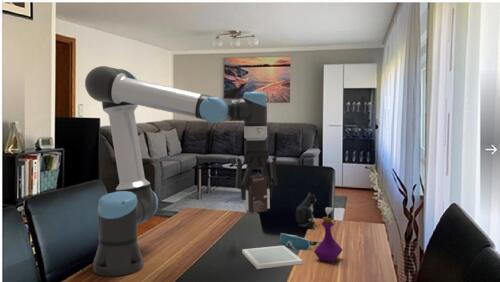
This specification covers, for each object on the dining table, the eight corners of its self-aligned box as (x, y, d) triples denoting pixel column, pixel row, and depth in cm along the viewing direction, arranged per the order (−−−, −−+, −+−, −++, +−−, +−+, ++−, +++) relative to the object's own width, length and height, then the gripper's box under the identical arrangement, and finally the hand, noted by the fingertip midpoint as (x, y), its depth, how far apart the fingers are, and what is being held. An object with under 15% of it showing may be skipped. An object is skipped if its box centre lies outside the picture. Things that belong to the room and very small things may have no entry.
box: (253, 214, 135) (251, 177, 134) (246, 211, 139) (244, 175, 138) (268, 211, 138) (267, 175, 137) (261, 209, 142) (260, 173, 141)
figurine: (322, 228, 180) (323, 194, 179) (301, 231, 177) (302, 196, 176) (311, 223, 189) (312, 190, 188) (291, 225, 186) (292, 191, 185)
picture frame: (257, 269, 134) (257, 265, 133) (242, 252, 149) (242, 249, 149) (302, 263, 139) (302, 260, 138) (283, 248, 154) (283, 245, 154)
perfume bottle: (334, 265, 137) (336, 211, 136) (313, 260, 141) (314, 208, 140) (342, 258, 144) (343, 207, 143) (321, 254, 148) (323, 204, 146)
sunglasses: (273, 244, 159) (274, 231, 159) (294, 240, 170) (295, 228, 171) (304, 253, 150) (306, 238, 150) (325, 248, 161) (326, 235, 162)
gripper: (229, 140, 131) (230, 213, 132) (287, 138, 136) (288, 208, 138) (224, 139, 138) (225, 208, 139) (279, 137, 143) (280, 203, 145)
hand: (256, 208), depth 139 cm, fingers closed on box, 7 cm apart
